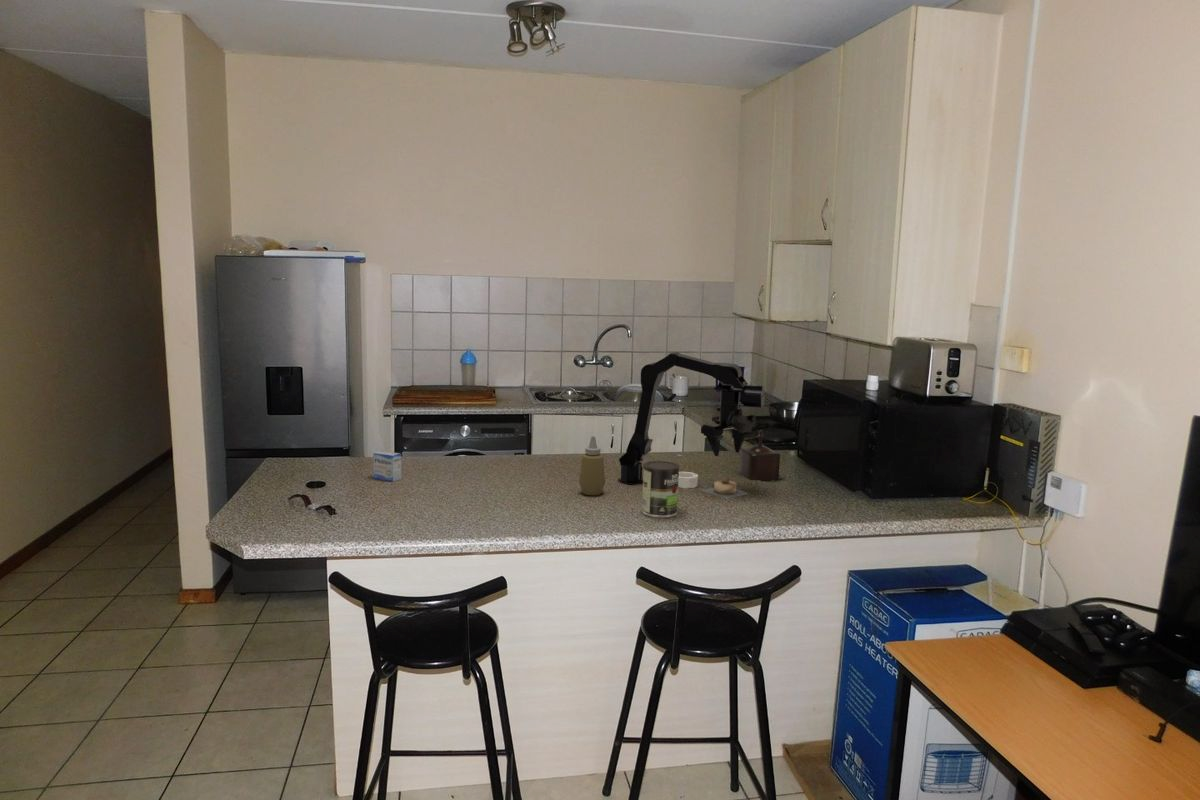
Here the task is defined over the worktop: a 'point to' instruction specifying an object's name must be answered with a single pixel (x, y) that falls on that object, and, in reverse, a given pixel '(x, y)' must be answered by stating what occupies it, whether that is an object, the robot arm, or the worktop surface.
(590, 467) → the squeeze bottle
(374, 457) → the medicine box
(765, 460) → the manual coffee grinder
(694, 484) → the bowl
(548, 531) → the worktop surface
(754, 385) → the robot arm
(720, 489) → the lid
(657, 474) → the coffee can
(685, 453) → the worktop surface
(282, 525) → the worktop surface
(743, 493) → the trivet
